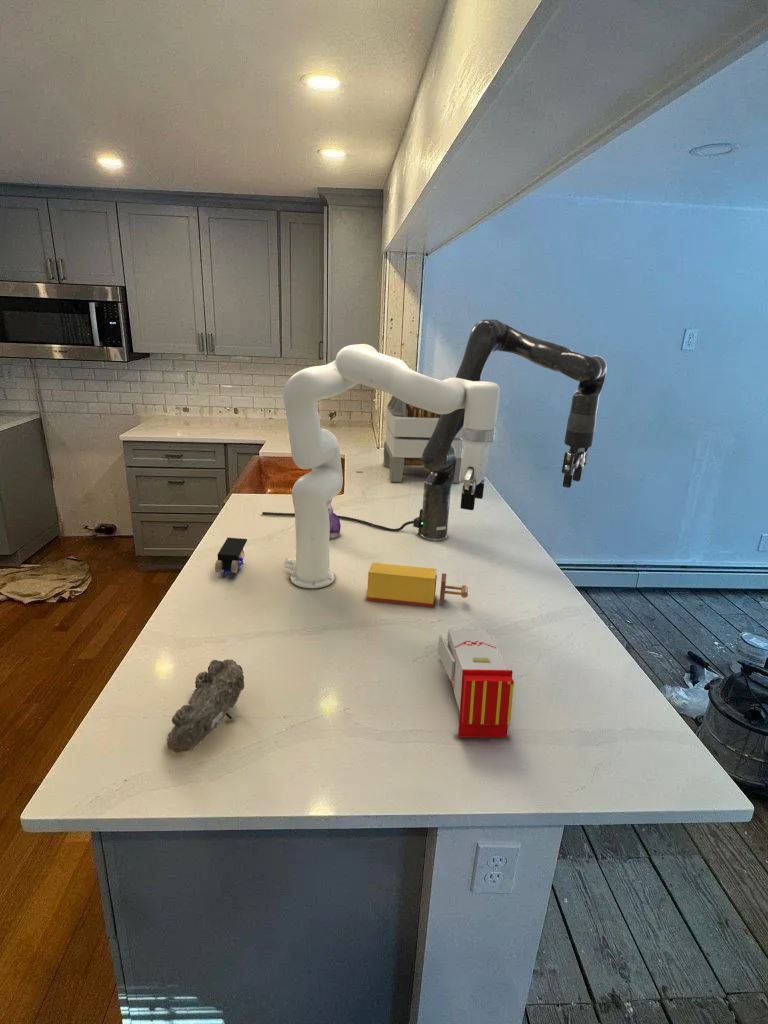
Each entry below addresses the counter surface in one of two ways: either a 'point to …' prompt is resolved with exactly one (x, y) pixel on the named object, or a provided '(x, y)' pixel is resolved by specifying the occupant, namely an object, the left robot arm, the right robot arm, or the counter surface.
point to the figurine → (333, 521)
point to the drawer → (443, 585)
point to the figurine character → (230, 556)
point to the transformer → (411, 437)
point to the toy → (478, 682)
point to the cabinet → (401, 584)
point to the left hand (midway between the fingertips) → (471, 503)
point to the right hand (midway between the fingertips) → (571, 483)
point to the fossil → (206, 705)
